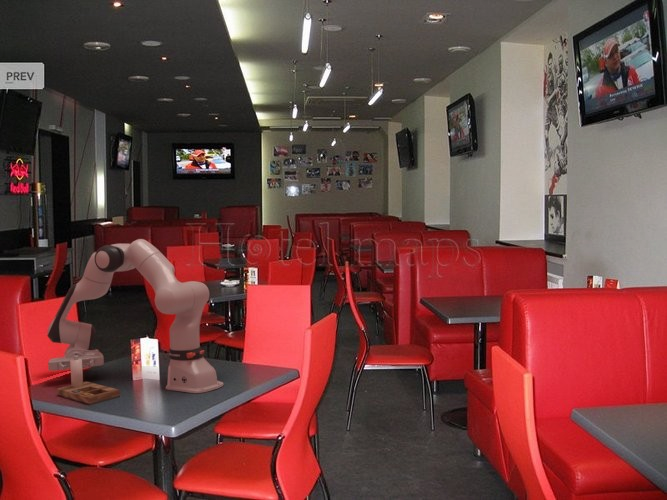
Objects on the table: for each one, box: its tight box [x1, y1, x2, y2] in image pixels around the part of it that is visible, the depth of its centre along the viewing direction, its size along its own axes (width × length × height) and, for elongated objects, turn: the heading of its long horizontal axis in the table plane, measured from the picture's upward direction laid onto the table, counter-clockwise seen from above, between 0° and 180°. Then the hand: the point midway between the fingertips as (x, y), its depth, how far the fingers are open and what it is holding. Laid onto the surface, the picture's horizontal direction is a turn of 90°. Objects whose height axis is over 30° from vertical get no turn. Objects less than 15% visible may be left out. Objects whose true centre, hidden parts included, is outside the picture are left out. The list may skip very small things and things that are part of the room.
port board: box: [56, 381, 121, 406], centre depth 242 cm, size 21×12×3 cm, turn 52°
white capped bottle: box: [70, 355, 84, 388], centre depth 245 cm, size 4×4×12 cm
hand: (76, 366), depth 255 cm, fingers open, 8 cm apart
